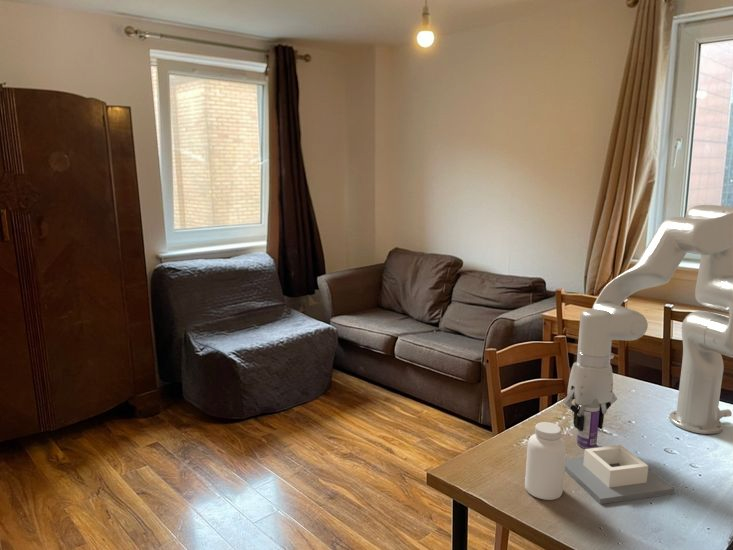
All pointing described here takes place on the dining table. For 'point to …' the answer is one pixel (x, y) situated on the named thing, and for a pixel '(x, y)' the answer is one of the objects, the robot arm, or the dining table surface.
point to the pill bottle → (545, 462)
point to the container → (589, 426)
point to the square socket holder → (615, 475)
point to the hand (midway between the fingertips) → (587, 426)
